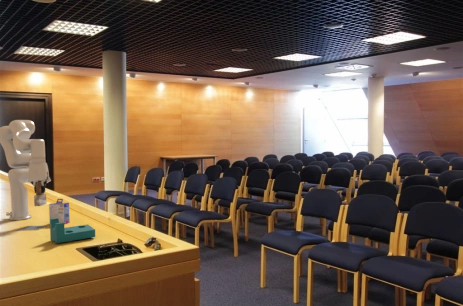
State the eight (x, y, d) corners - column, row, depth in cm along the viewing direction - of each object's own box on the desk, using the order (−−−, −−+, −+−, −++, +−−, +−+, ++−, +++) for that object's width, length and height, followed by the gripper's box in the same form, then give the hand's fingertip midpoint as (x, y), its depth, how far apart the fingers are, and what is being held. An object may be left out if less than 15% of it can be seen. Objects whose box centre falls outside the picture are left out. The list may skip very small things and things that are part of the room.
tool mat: (15, 231, 232) (15, 230, 232) (27, 226, 244) (27, 225, 244) (37, 231, 231) (37, 230, 231) (48, 226, 243) (48, 225, 243)
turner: (34, 206, 245) (33, 183, 244) (41, 204, 253) (40, 181, 252) (39, 206, 245) (38, 183, 244) (46, 203, 253) (45, 181, 252)
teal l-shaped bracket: (56, 246, 200) (56, 224, 199) (50, 240, 208) (49, 218, 207) (95, 239, 211) (95, 218, 209) (87, 234, 219) (87, 213, 218)
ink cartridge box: (70, 223, 250) (69, 198, 250) (64, 225, 245) (63, 200, 245) (55, 223, 252) (53, 198, 252) (49, 225, 247) (48, 199, 246)
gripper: (20, 161, 245) (22, 194, 245) (49, 160, 244) (50, 193, 244) (27, 161, 252) (29, 192, 253) (55, 160, 251) (56, 191, 252)
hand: (40, 192), depth 248 cm, fingers closed on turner, 3 cm apart
